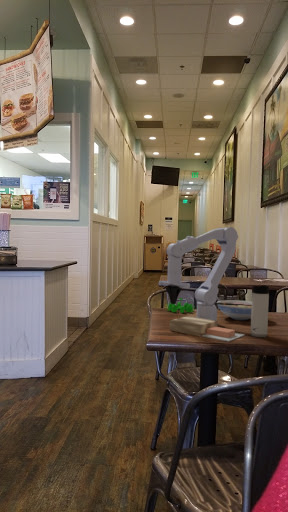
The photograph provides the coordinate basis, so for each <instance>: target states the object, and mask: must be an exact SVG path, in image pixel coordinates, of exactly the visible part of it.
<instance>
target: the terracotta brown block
mask: <svg viewBox="0 0 288 512" xmlns="http://www.w3.org/2000/svg"><path fill="white" fill-rule="evenodd" d="M235 333H236V330H235V329H231V328H230V329H229V328H224V327H220V326H217V327H211V328H207V332H206V334H210V335H215V336H221V337H226V338H229V337H231V336H234V335H235Z"/></svg>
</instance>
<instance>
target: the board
mask: <svg viewBox="0 0 288 512" xmlns="http://www.w3.org/2000/svg"><path fill="white" fill-rule="evenodd" d="M218 324H219V321H218V320H217V321H216V320H209V319H203V318H197V316H192V315H188V316H183V317H179V318H178V317H177V318H175V319H174V318H173V319H170V320H169V331H172V332H178V333H182V334H186V335H192V336H196V337H202V335H205V334H206V332H207V328H211V327H219V325H218Z"/></svg>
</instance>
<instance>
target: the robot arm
mask: <svg viewBox="0 0 288 512" xmlns="http://www.w3.org/2000/svg"><path fill="white" fill-rule="evenodd" d="M238 239H239V235H238V231H237V230H236V229H235V228H234V227H230V226H229V227H218V228H213V229H211V230H209V231H207V232H205V233H202V234H201V235H198V236H196V237H195V236H191V235H187V236H186V237H185V238H184V239H181V240H179V239H178V240H176V243H175V242H174V243H173V242H172V243H170V244H169V245H168V246H167V248H166V249H165V252H166V254H167V256H168V257H167V279H166V280H159V281H158V286H166V287H165V291H166V292H167V294H168V297H169V301H170V302H169V303H171V304H175V305H177V301H178V299H179V298H178V297H179V296H180V293H181V291H182V290H183V288H184V289H190V287H191V284H190V283H187V282H182V263H183V262H182V259H183V258H182V257H183V256H184V254H187V253H189V252H192V251H195V250H196V249H197V248H198V247H199V245H201V244H204V243H206V242H209V241H212V240H216V241H217V243H218V244H219V246H220V249H221V251H220V254H219V256H218V257H217V259H216V261H215V263H214V265H213V267H212V269H211V270H210V272H209V274H208V276H207V279H205V281H204V282H202V283H201V284H200V286H199V287H198V288H197V289H196V290H195V292H194V299H195V301H196V317H197V318H203V319H209V320H216V321H218V320H217V315H218V309H217V306H216V304H215V302H216V301H218V294H219V288H218V286H219V284H220V282H221V280H222V278H223V276H224V275H225V272H226V270H227V269H228V267H229V265H230V263H231V262H232V259H233V257H234V255H235V253H236V252H237V251H236V250H237V240H238Z"/></svg>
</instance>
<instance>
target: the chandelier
mask: <svg viewBox="0 0 288 512" xmlns="http://www.w3.org/2000/svg"><path fill="white" fill-rule="evenodd" d="M178 300H179V301H178V302H177V303H176V304H171V302H169V303H167V304H166V306H165V308H166V311H167V312H169V311H171V312H172V313H173V314H174V313H177V311H179V312H180V313H181V314H184V313H185V312H186V313H190V314H191V313H193V312H194V311H195V309H196V306H195V305H194V304H193V303H188V302H185V303H184V304H183V305H182V301H183V300H184V298H182V297H179V298H178Z"/></svg>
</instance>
